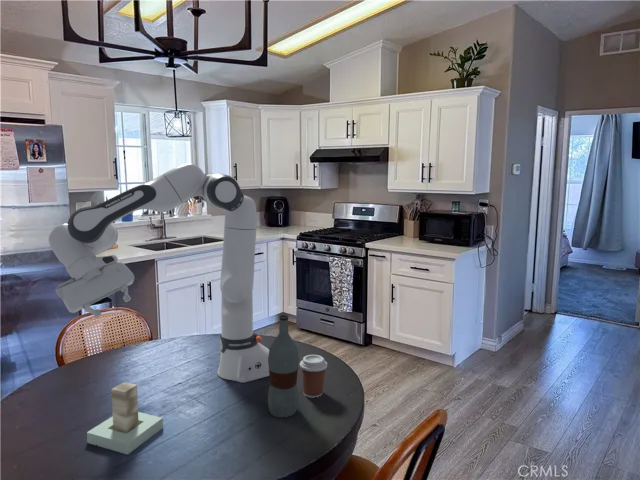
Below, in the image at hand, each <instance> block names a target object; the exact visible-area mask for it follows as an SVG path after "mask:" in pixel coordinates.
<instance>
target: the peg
mask: <svg viewBox="0 0 640 480" xmlns="http://www.w3.org/2000/svg"><path fill="white" fill-rule="evenodd" d="M110 389H111V405H112V406H111V409H112V416H113V430H115V431H119V432H122V433H126V434H127V433H128V432H130V431H131V430H133V429H134V428H135V427H137V426H138V425H139V421H138V412H139V406H138V405H139V400H138V397H139V396H138V385H137V384H134V383H131V382H130V383H129V382H127V381H123V382H122V383H120V384H118V385H116V386H114V387H113V388H110Z"/></svg>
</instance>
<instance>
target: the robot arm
mask: <svg viewBox="0 0 640 480" xmlns="http://www.w3.org/2000/svg"><path fill="white" fill-rule="evenodd" d="M194 197H199V198H200V199H201V200H202V201H204V202H206V204H207V203H208V204H209V205H210V206H212V207H217V208H220V209H222V210H223V214H224V225H223V228H224V229H223V244H222V255H221V256H222V257H221V258H222V259H221V270H220V271H221V273H220V285H219V286H220V287H219V288H220V292H221V310H220V311H221V313H220V315H221V317H220V318H221V320H220V321H221V326H220V327H221V334H220V339H219V349H220V357H219V358H220V360H219V364H218V368H217V372H216V373H217V376H218V377H220V378H221V379H224V380H228V381H235V382H238V383H243V384H244V383H247V382H252V381H255V380H259V379H263V378H265V377H269V365H268V355H269V349H270V348H267V346H265V345H263V344H262V343H261V342H262V341H263V338H262V337H261V336H260V335H258V334H257V333H256V332H254V326H253V325H254V323H253V322H254V317H253V316H254V314H253V313H254V312H253V311H254V309H253V308H254V305H253V290H254V277H255V275H254V274H255V256H256V240H257V227H258V226H257V225H258V223H257V222H258V220H257V219H258V216H257V205H256V202H255V200H254V199H253V198H252V197H250V196H248V195H244V194H243V191H242V189H241V187H240V185H239V183H238V182H237V180H236V179H235V178H234V177H233V176H231V175H228V174H224V173H218V172H217V173H204V171H203V169H201V167H199V166H198V165H197V164H195V163H191V162H186V163H184V164H182V165H179V166H176V167H174V168H172V169H170V170H168V171H166V172H164V173H163V174H161V175H158V176H157V177H156V178H154V179H151V180H150V181H147V182H145V183H142V184H140V185H137V186H133V187H132V188H130V189H127V190H125V191H123V192H121V193H120V194H117V195H115V196H113V197H111V198H109V199H106V200H105V201H102V202H101V203H97V204H95V205H89V206H88V205H87V206H84V207H81V208H78V209H77V210H75V211H74V212H73V213H72V214H71V215H70V217H69V218H68V220H67V223H62V224H59V225H58V226H56V227H55V228H54V229H52V231H51V232H50V234H49V237H48V243H49V247H50V248H51V250H52V252H53V254H54V255H55V256H56V258H57V259H58V261H59V262H60V263H61V264H63V265H64V266H65V269H66V272H67V274H68V275H69V276H70V277H71V278H70V279H68V280H66V281H65V282H62V283H60V284H58V285H57V287H56V288H55V294H56V295H57V297H58V298H60V299H61V300H62V302H63V303H64V306H65V307H66V309H67V311H68V312H69V313H72V314H76V313H77V312H79V311H81V310H84V311H85V312H87V313H89V314H91V315H93V316H94V318H95V319H97V318H99V317H101V316H102V312H101V311H100V309H99V308H97V309H94V308H92V307H91V306H92V305H93V304H95V303H97V302H99V301H101V300H103V299H105V298H108V296H111V295H113V294H115V293H117V292H119V291H121V292H122V293H124V295H123V296H122V300H124V302H125V303H127V302H129V301H131V299H132V297H131V296H130V295H129V286H131V285H132V284H133V283H134V281H135V274H134V273H133V272H132V271H131V270H130V268H129V267H128V266H127V265H126V264H124V263H123V262H121V261H118V260H119V259H118V256H117V255H115V254H111V255H106V256H105V255H104V256H97V255H99V254H102V253H104V252H106V251H108V250H109V249H112V248H113V247H114V246H115V245H116V243H117V241H118V237H119V232H118V230H117V228H116V227H115V226H114V225H113V224H112V223H114V222H117V221H118V220H120V219H122V218H124V217H126V216H128V215H130V214H132V213H134V212H136V211H140V210H150V211H154V212H158V213H167V212H169V211H172V210H174V209H176V208H177V207H179V206H181V205H182V204H184V203H186V202H187V201H189V200H191V199H192V198H194Z"/></svg>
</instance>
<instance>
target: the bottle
mask: <svg viewBox="0 0 640 480" xmlns="http://www.w3.org/2000/svg"><path fill="white" fill-rule="evenodd" d="M278 317H279V325H278V326H279V329H278V335H277V336H276V338H275V339H274V340H273V342H272V343H271V345H270V346H269V348H268V349H269V355H268V365H269V376H268V378H269V387H268V388H269V389H268V392H267V393H268V395H267V404H268V410H269V413H270V415H271V416H273V417H276V418H280V419H281V418H283V417H285V418H289V416H290V417H291V416H293V415H295V414H296V413H297V410H298V406H299V391H298V383H297V382H298V373H299V370H298V369H299V365H300V362H299V361H300V358H299V349H298V346H297V344H296V343H295V342H294V340H293V338H292V337H291V335H290V334H289V315H287V314H281V315H279V316H278ZM295 412H296V413H295Z"/></svg>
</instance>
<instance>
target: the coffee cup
mask: <svg viewBox="0 0 640 480" xmlns="http://www.w3.org/2000/svg"><path fill="white" fill-rule="evenodd" d="M327 367H328V362H327V361H326V360H325V357H323V356H321V355H318V354H307V355H305V356H303V358H302V360H301V361H300V362H299V368H300V369H301V375H302V391H303V393H302V394H303V395H304V396H305V397H306V396H307V398H309V399H315V397H317V398H320V397H322V396H323V394H324V383H325V375H326V374H325V373H326V370H327ZM321 395H322V396H321ZM319 396H320V397H319Z"/></svg>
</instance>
